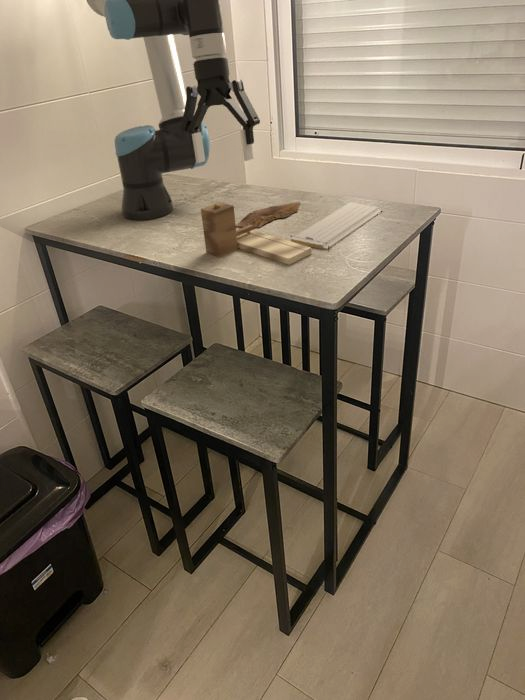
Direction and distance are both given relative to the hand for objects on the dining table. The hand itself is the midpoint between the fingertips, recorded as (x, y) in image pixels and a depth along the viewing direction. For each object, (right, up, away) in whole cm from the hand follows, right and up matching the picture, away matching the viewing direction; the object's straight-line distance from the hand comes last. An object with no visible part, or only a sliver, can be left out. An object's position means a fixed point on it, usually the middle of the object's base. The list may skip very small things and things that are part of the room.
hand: (224, 161), depth 125 cm
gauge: (+2, -18, +9) cm, 20 cm away
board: (+10, -19, +6) cm, 23 cm away
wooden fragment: (+11, -6, +27) cm, 30 cm away
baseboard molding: (+30, -12, +16) cm, 36 cm away
